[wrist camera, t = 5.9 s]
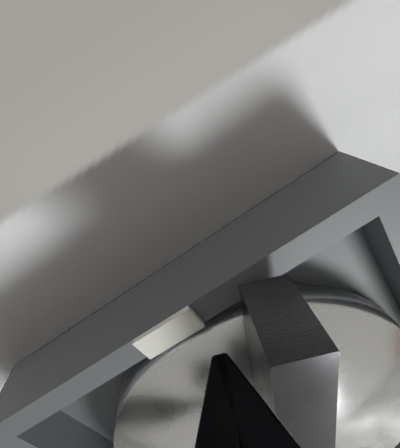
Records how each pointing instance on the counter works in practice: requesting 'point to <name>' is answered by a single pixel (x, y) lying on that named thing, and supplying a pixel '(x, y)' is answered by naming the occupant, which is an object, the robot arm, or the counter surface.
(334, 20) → the counter surface
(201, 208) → the counter surface
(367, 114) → the counter surface
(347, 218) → the dial base
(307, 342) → the dial
